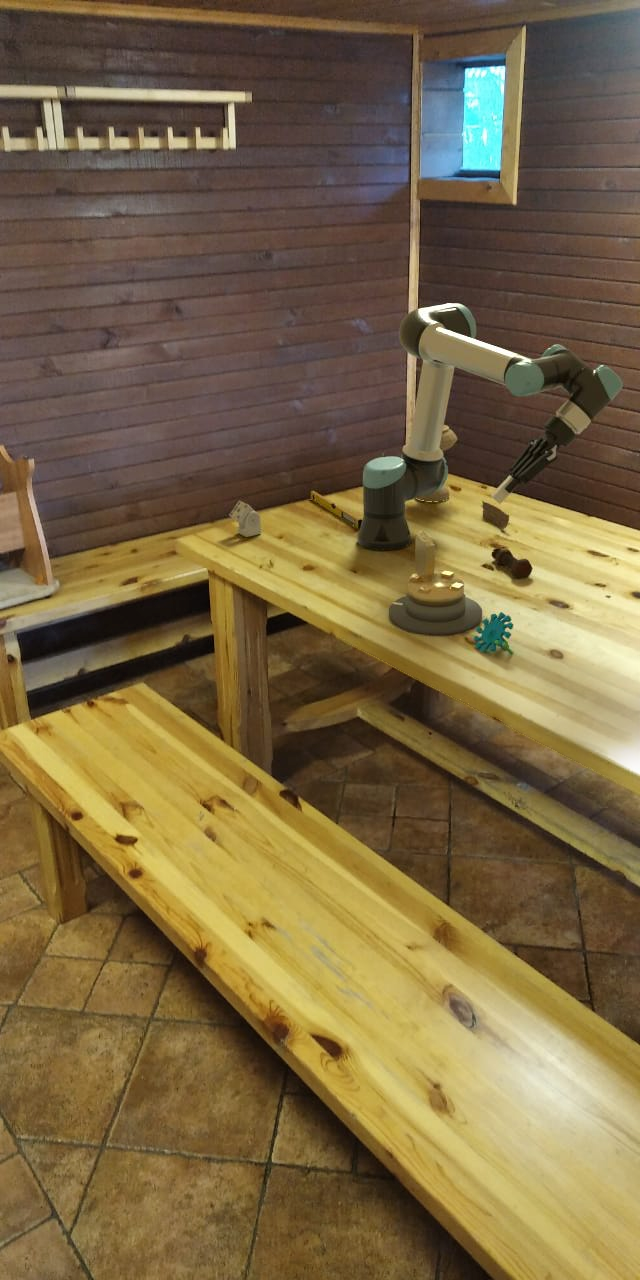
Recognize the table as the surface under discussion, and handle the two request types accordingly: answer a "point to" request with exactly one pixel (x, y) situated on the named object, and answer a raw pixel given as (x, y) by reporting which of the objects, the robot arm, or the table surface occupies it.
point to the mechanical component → (246, 519)
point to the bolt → (512, 563)
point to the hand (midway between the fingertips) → (495, 499)
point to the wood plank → (495, 515)
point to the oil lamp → (445, 443)
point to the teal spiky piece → (494, 633)
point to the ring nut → (432, 578)
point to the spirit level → (335, 509)
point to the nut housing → (435, 617)
